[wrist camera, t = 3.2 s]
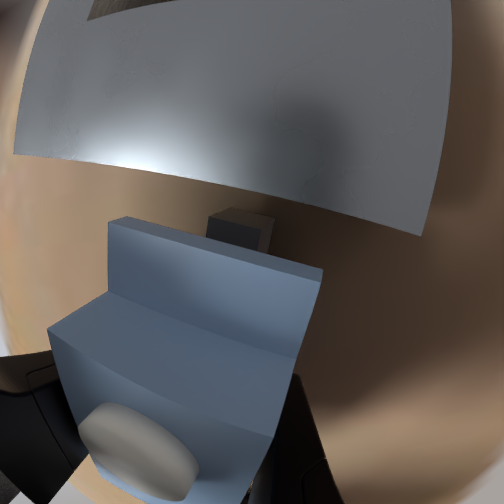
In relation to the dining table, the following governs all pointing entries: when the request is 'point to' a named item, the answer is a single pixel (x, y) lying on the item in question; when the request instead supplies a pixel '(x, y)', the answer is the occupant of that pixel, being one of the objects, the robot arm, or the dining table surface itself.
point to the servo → (185, 356)
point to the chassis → (251, 96)
